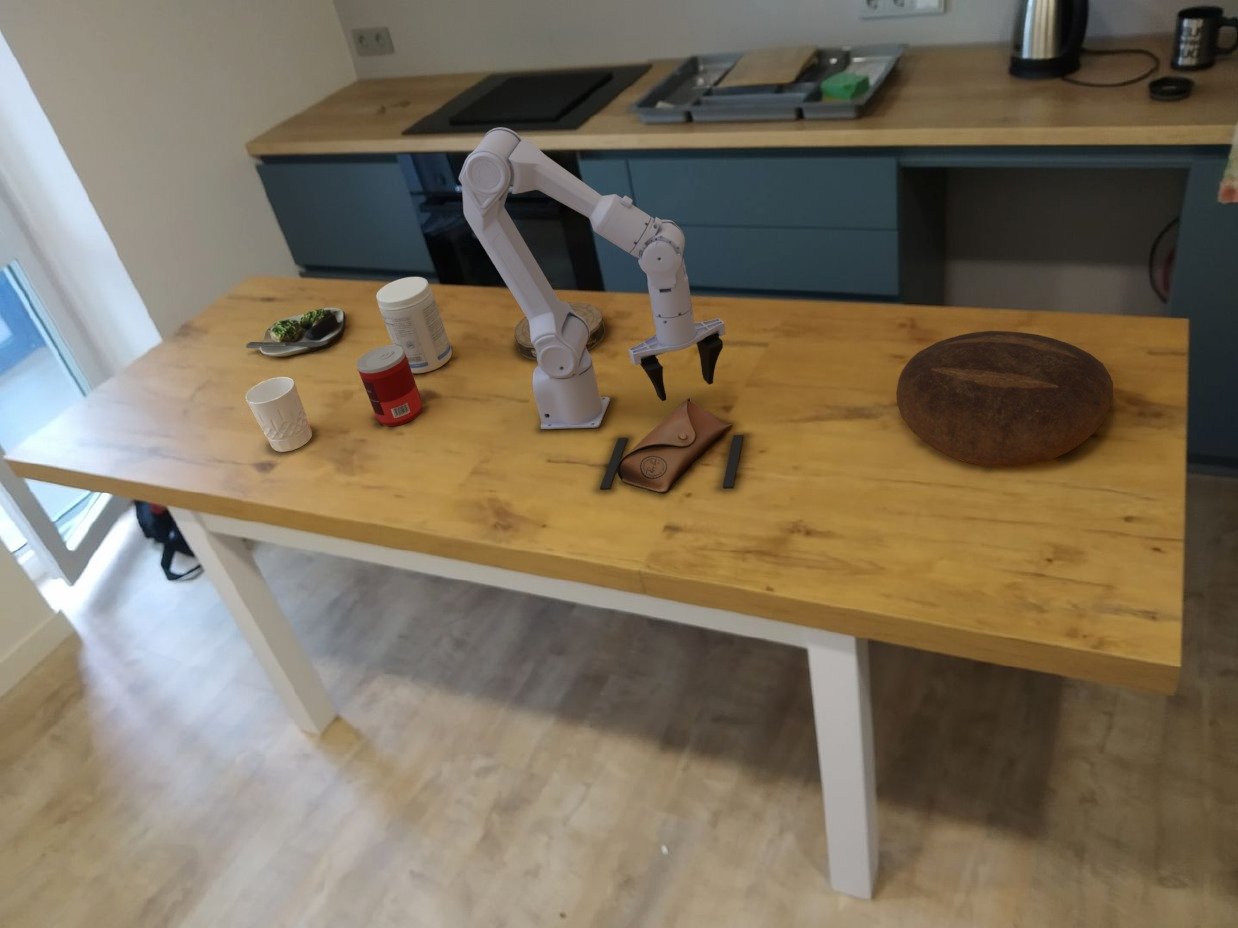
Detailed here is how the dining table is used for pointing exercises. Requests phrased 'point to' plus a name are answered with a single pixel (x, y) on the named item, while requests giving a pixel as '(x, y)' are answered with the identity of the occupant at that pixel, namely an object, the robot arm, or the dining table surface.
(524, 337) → the tan round flat disc
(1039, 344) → the bread
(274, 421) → the white cup
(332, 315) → the salad plate
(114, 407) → the dining table surface
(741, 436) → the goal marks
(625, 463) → the sunglasses case
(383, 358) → the canned food
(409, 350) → the supplement tub
